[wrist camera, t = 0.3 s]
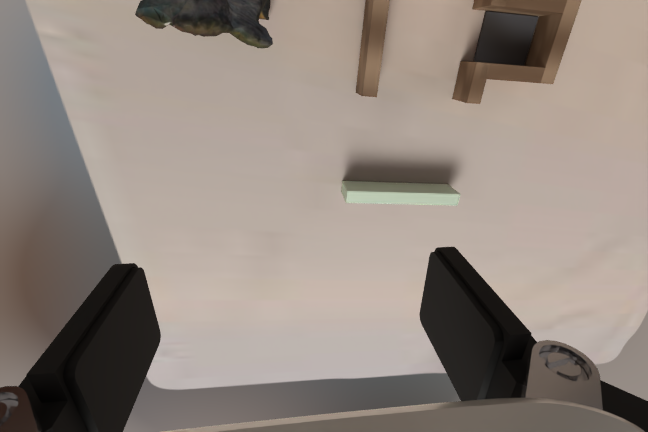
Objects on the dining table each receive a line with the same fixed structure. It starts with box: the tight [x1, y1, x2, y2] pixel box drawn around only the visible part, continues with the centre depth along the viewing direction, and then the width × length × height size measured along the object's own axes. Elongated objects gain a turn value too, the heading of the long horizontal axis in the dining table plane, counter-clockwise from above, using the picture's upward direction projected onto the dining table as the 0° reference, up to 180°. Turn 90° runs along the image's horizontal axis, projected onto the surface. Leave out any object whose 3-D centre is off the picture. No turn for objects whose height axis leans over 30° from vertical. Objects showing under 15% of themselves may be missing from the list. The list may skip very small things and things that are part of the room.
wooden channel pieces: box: [356, 0, 581, 104], centre depth 35 cm, size 12×21×4 cm, turn 86°
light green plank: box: [341, 181, 460, 205], centre depth 42 cm, size 2×14×4 cm, turn 86°
